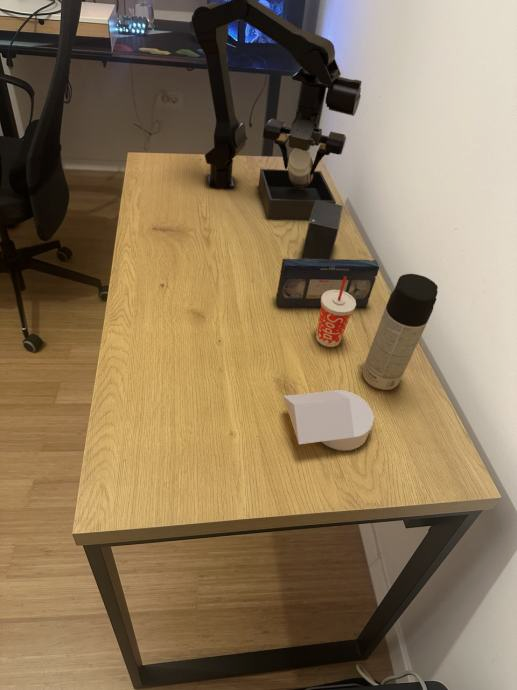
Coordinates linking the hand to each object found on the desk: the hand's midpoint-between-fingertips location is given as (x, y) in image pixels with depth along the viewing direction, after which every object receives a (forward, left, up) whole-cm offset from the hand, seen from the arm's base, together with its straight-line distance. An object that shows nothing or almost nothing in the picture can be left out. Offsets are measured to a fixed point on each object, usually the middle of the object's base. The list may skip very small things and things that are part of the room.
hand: (298, 171), depth 122 cm
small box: (+23, +1, -9) cm, 25 cm away
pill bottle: (-5, +2, -4) cm, 7 cm away
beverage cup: (+50, -3, -9) cm, 51 cm away
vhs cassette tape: (+40, -2, -9) cm, 41 cm away
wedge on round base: (+70, -8, -9) cm, 71 cm away
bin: (0, 0, -9) cm, 9 cm away
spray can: (+60, +4, -9) cm, 61 cm away
